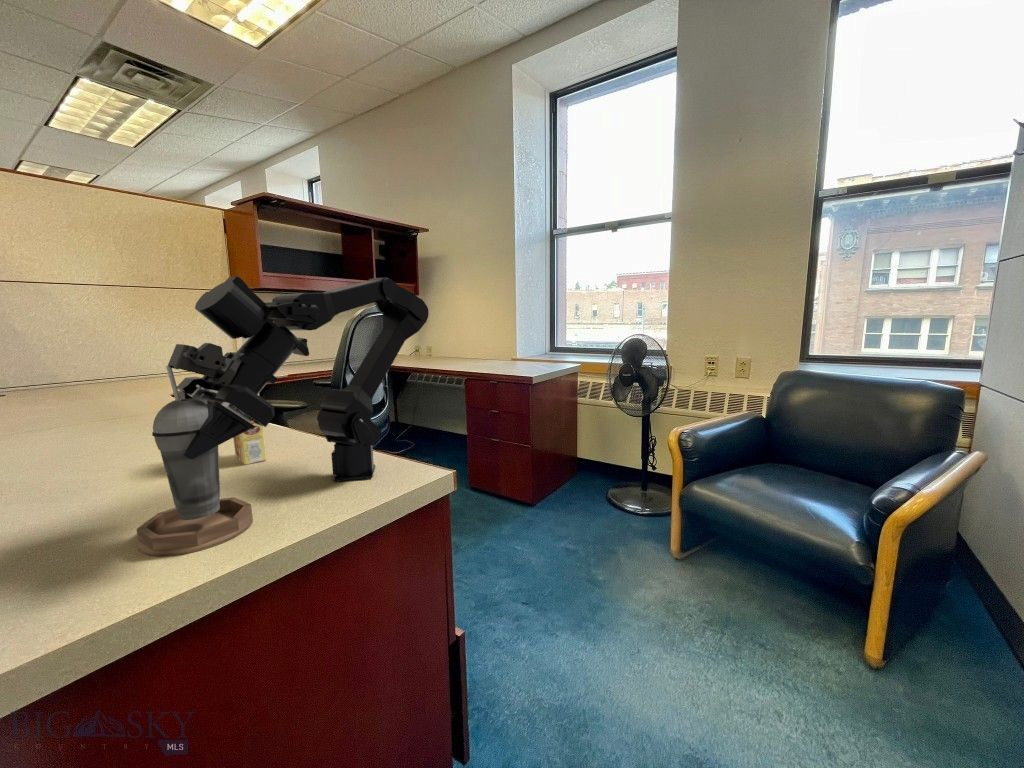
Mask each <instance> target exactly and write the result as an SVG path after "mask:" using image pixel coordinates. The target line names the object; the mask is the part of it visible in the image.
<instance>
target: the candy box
mask: <svg viewBox="0 0 1024 768" xmlns="http://www.w3.org/2000/svg"><path fill="white" fill-rule="evenodd" d="M258 395H259V396H260V393H259V394H258ZM251 424H252V425H254V426H255V428H254V429H250V430H248V431H246V432H244V433H242V434H240V435H238V436H236V437H233V438H232V439H233V440H232V441H233V445H234V455H235V456H236V458H238V459H239V460H240V462H242V463H243V464H244V465H250V464H255V463H258V462H259V463H261V462H264V461H267V454H266V452H267V451H266V445H265V444H266V443H265V434H264V426H260V425H257V424H255V423H254V420H253V421H252V422H251Z"/></svg>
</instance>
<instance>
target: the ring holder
mask: <svg viewBox="0 0 1024 768" xmlns="http://www.w3.org/2000/svg"><path fill="white" fill-rule="evenodd" d="M219 505H220V509H219V510H218V511H217V512H215V513H214V514H211V515H209V516H206V517H202V518H198V519H193V520H181V519H180V518H179V514H178V512H177V509H176V507H173V508H169V509H167V510H163V511H161V512H158V513H156V514H155V515H154V516H152V517H150V519H147V521H146V522H144V523H142V524H141V525H139V526H138V528H136V534H137V547H138V550H139V551H140V552H141V553H142V554H145V555H147V556H152V557H153V556H154V557H169V556H180V555H184V554H191V553H194V552H199V551H203V550H206V549H209V548H212V547H216V546H218V545H221V544H223V543H226V542H228V541H231V540H232V539H235V538H236V537H238V536H240V535H241V534H243V533H245V531H247V530H248V529H249V528H250V527H251V526H252V524H253V522H254V515H253V511H252V510H253V509H252V503H249V502H246V501H244V500H242V499H240V498H237V497H226V498H225V497H223V498H220V503H219Z"/></svg>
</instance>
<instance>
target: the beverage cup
mask: <svg viewBox="0 0 1024 768" xmlns="http://www.w3.org/2000/svg"><path fill="white" fill-rule="evenodd" d="M165 368H166V370H167V371H166V372H167V374H168V378H169V382H170V385H171V389H172V392H173V395H174V396H173V397H174V400H172V401H170V402H168V403H167V404H165V405H164V406H163V407H161V409H159V411H158V412H157V414H156V415H155V417H154V420H153V425H152V433H151V436H153V437H154V441H155V444H156V447H157V449H158V450H159V451H160V452H159V453H160V456H161V458H162V462H163V467H164V470H165V474H166V477H167V481H168V485H169V489H170V492H171V496H172V499H173V503H174V508H176V509H177V512H178V514H179V518H180V519H181V520H193V519H198V518H202V517H206V516H209V515H211V514H214V513H215V512H217V511H218V510H219V509H220V505H219V503H220V499H221V492H220V491H221V489H220V488H221V485H220V462H219V461H220V458H219V457H220V456H219V445H218V446H216V447H214V448H213V449H211V450H209V451H207V452H205V453H203V454H201V455H200V456H198V457H196V458H194V459H189V458H187V457H185V456H184V453H185V451H186V450H187V448H188V446H189V445H190V443H191V442H192V440H193V439H194V437H195V436H196V434H197V433H198V431H199V430H200V428H201V427H202V425H203V424H204V422H205V421H206V419H207V417H208V406H207V404H206V403H204V402H202V401H200V400H197V399H181V397H180V396H179V390H178V389H177V386H178V385H177V383H176V379H175V375H174V372H173V368H171V367H169V366H168V365H165Z"/></svg>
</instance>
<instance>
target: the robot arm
mask: <svg viewBox="0 0 1024 768" xmlns="http://www.w3.org/2000/svg"><path fill="white" fill-rule="evenodd" d="M373 303H374V305H375V308H376V310H377V311H378V312H379V313H380V314H382V316H381V323H382V328H381V331H380V332H379V334H378V335H377V337H376V338H375V340H374V342H373V344H372V345H371V347H370V348H369V350H368V351H367V353H366V355H365V357H364V359H363V360H362V362H361V363H360V364H359V367H358V368H357V370H356V371H355V373H354V375H353V376H352V378H351V380H350V381H349V383H348V384H347V385H346V387H344V388H342V389H334V388H332V389H330V390H329V391H328V393H327V395H326V398H325V399H324V401H323V402H322V403H321V404H320V405H319V406H318V409H320V410H319V412H318V414H317V416H316V417H317V418H316V420H317V424H318V428H319V429H320V431H321V433H323V435H324V436H325V439H326V441H327V443H334V445H333V450H332V452H331V455H330V456H331V465H332V466H331V468H332V475H333V476H334V481H335V482H340V481H341V482H343V481H353V480H363V479H364V478H366V479H372V478H373V477H374V474H373V473H375V471H376V470H375V469H376V464H374V449H373V448H374V447H373V446H374V445H375V444H376V443H379V442H380V441H381V440H380V439H381V435H382V429H381V428H380V427H379V426H377V424H375V422H373V421H372V420H371V419H372V417H373V413H374V407H373V405H374V404H373V398H374V396H375V395H376V393H377V391H378V390H379V388H380V385H381V384H382V383H383V381H384V379H385V377H386V375H387V373H388V372H389V370H390V368H391V366H392V365H393V363H394V361H395V359H396V358H397V355H398V354H399V352H400V351H401V349H402V347H403V346H404V343H405V342H406V341H407V340H408V339H410V338H411V337H413V336H414V335H415V334H417V333H418V332H420V330H421V329H422V328H423V327H424V325H425V324H426V323H427V321H428V319H429V307H428V305H427V304H426V303H425V301H424V300H423V299H422V298H420V297H419V296H418V295H416V294H415V293H414V292H412V291H409V290H408V289H407V288H403V287H402V286H400V285H399V284H397V283H396V282H395V281H394V280H393V279H391V278H388V277H375V278H368V280H366V281H362V282H358V283H355V284H350V285H347V286H346V285H345V286H343V287H339V288H334V289H331V290H327V291H321V292H299V293H297V292H296V293H286V294H285V293H284V294H283V293H282V294H279V295H276V296H275V297H274V298H272V300H271V302H270V301H269V302H265V301H264V300H262V299H261V298H260V297H259V296H258V295H257V294H256V293H255V292H254V291H253V290H252V289H251V288H250V287H249V286H248V285H247V283H246V281H245V280H243V279H242V277H239V276H229V277H228V278H227V279H226V280H225V281H223V282H221V283H220V284H218V285H216V286H214V287H213V288H212V289H210V290H209V291H205V292H204V293H203V294H202V295H201V296H200V297H199V298H198V300H197V301H196V303H195V305H194V309H195V310H196V311H197V312H198V313H199V314H201V315H202V316H203V317H205V318H206V319H207V320H209V322H211V323H212V324H213V325H214V326H215V327H217V328H218V329H219V330H220V331H221V332H223V333H224V334H225V335H227V336H228V337H229V338H231V339H233V340H236V339H240V338H243V339H246V341H245V342H244V343H243V344H242V345H241V347H239V349H237V351H235V352H234V351H228V352H226V353H225V354H223V347H222V346H220V345H217V344H214V343H211V342H203V344H201V345H200V346H199V347H196V346H193V345H187V344H183V343H182V344H179V343H176V345H175V347H174V348H173V352H172V354H171V356H170V359H169V361H168V364H167V366H169V367H171V368H172V369H175V370H183V371H186V372H191V373H195V374H198V375H202V377H200V376H190V377H188V376H187V377H184V379H182V381H181V382H180V383H179V384H178V385H176V386H177V389H178V393H179V396H180V399H197V400H200V401H202V402H204V403H206V404H207V406H208V417H207V419H206V421H205V422H204V424H203V425H202V427H201V428H200V430H199V431H198V433H197V434H196V436H195V437H194V439H193V440H192V442H191V443H190V445H189V446H188V448H187V450H186V451H185V453H184V456H185V457H187V458H189V459H194V458H196V457H198V456H200V455H201V454H203V453H205V452H207V451H209V450H211V449H213V448H214V447H216V446H218V447H219V445H221V444H222V445H223V443H225V442H227V441H229V440H232V439H233V437H236V436H238V435H240V434H242V433H244V432H246V431H248V430H250V429H254V428H255V426H254V425H252V424H251V422H252V421H253V420H254V423H255V424H257V425H260V426H263V428H266V427H267V426H268V425H269V424H270V422H271V421H272V420H273V419H274V417H275V415H276V413H275V406H274V405H273V404H272V403H270V402H269V401H267V400H266V399H264V398H263V397H262V396H260V392H261V391H262V390H263V389H264V387H266V385H267V384H271V385H273V384H275V383H276V381H277V380H278V377H277V376H275V374H276V373H277V372H278V371H279V369H280V368H282V366H283V365H284V364H285V363H286V361H287V360H288V359H289V358H290V356H292V354H293V355H298V356H301V357H309V355H310V350H309V346H308V339H307V338H304V337H298V336H296V335H295V334H294V333H293V332H292V331H315V330H317V329H319V328H321V327H323V326H325V325H327V324H328V323H330V322H331V321H332V320H333V319H334V317H336V316H337V315H339V314H340V313H344V312H348V311H351V310H354V309H357V308H360V307H364V306H366V305H369V304H373ZM258 394H259V395H258ZM371 477H372V478H371ZM364 480H365V479H364Z"/></svg>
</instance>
